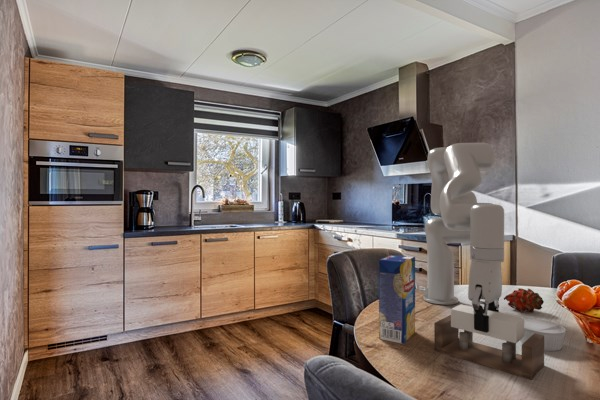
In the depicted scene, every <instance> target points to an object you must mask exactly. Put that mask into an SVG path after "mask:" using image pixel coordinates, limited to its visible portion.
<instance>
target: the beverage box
mask: <svg viewBox="0 0 600 400" xmlns="http://www.w3.org/2000/svg"><path fill="white" fill-rule="evenodd" d="M415 332H416V256H411V255H408V256H407V255H399V254H397V255H396V254H391V255H388V256H385V257H382V258H381V259H378V334H379V335H378V339H380V340H384V341H387V342H388V341H389V342H394V343H397V344H402V345H404V344H405V343H406V342H407V341H408V340H409V339H410V338H411V337H412V335H414V334H415Z"/></svg>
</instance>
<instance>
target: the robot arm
mask: <svg viewBox="0 0 600 400" xmlns="http://www.w3.org/2000/svg"><path fill="white" fill-rule="evenodd" d="M495 161H496V152H495V150H494V147H493V146H492V145H491V144H489V143H487V142H458V143H456V142H455V143H453V144H451V145H449V146H447V147H446V146H444V147H434V148H433V149H430V150H429V151H428V153H427V166H428V167H427V168H428V170H429V172H430V175H431V189H430V191H431V192H430V210H431V212H432V214H433V215H436V216H441V217H432V218H430V219H428V220H427V221H426V222H425V225H424V232H425V234H424V235H425V238H426V249H427V250H426V251H427V254H426V255H427V259H426V262H427V264H426V265H427V268H426V269H427V270H426V274H427V275H426V276H427V279H426V280H427V282H426V284H427V286H423V285H419V286H418V292H419V293H424V295H422V299H423V301H425V302H427V303H430V304H434V305H442V306H443V305H444V306H447V305H448V306H449V305H456V304H458V303H459V298H458V297H457V296H455V254H454V253H453V251H452V249H451V248H450V246H448V244H468V243H469V260H470V267H469V276H468V290H467V292H468V293H467V299H468V300H469V301H470V302H471V305H472V307H473V308H474V311H473V312H474V329H475V330H478V331H482V332H486V333H487V332H489V316H488V315H487V312H488V310H490V311H495V312H500V310H499V309H500V304H499V301H500V300H499V299H500V298H501V296H502V295H503V291H502V290H503V274H502V273H503V272H502V263H504V262H505V209H504V207H503V206H502V205H500V204H496V203H493V202H492V203H490V202H478V200H477V196H476V194H475V193H474V192H473V191H474V190H476V189H477V188H478V187H480V185H481V183H482V178H483V177H482V174H481V172H484V171H489V170H490V169H492V168H493V167H494V165H495ZM482 300H483V301H482Z"/></svg>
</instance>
